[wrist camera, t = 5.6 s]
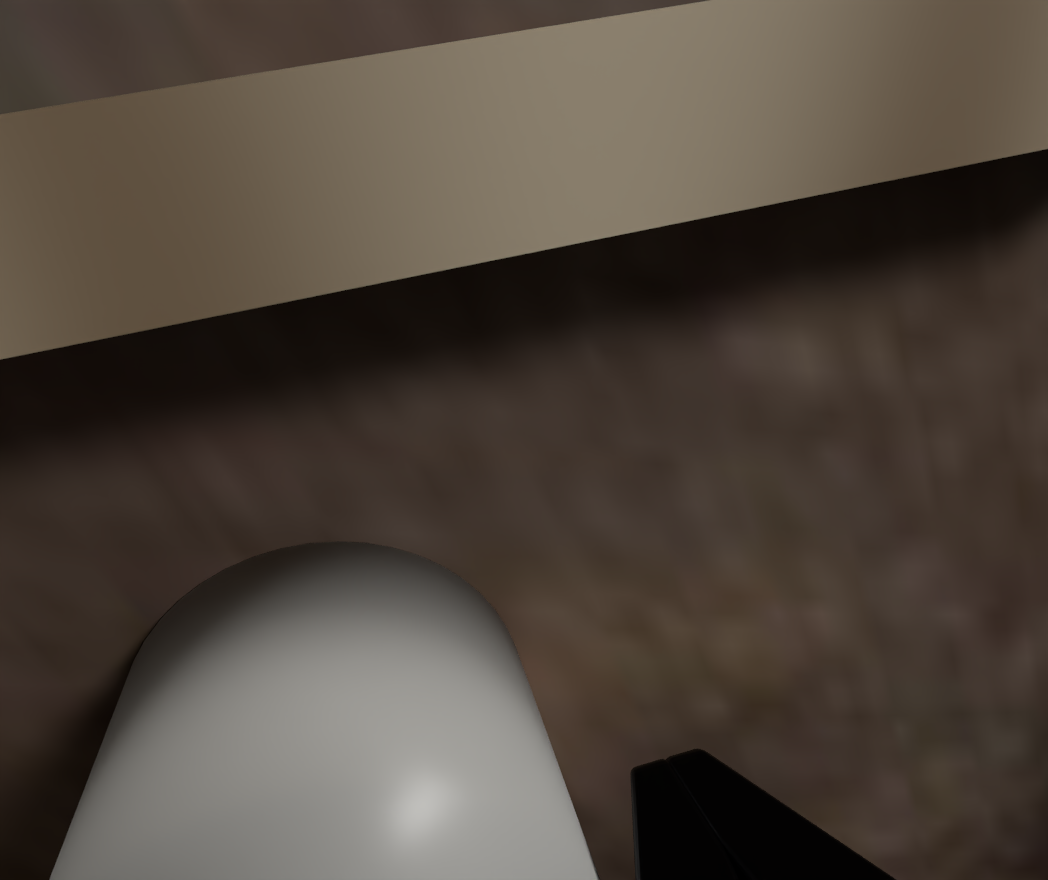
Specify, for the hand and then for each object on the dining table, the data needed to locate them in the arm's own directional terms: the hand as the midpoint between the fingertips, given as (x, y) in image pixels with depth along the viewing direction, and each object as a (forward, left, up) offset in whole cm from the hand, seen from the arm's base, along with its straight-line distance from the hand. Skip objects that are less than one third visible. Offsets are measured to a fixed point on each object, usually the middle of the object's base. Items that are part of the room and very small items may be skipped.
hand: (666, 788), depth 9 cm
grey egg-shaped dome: (+4, 0, -3) cm, 4 cm away
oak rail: (+3, -7, -3) cm, 8 cm away
